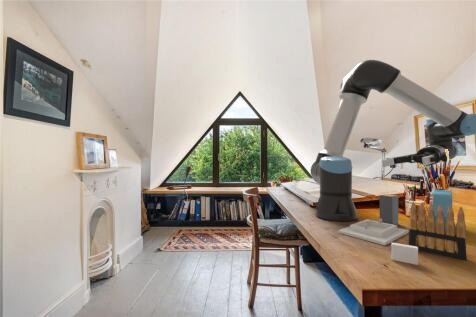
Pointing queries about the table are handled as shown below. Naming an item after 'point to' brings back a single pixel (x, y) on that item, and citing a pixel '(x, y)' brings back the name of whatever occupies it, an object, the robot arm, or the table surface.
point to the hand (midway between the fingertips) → (402, 162)
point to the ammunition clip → (438, 232)
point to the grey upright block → (389, 209)
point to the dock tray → (374, 231)
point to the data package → (442, 203)
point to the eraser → (404, 253)
